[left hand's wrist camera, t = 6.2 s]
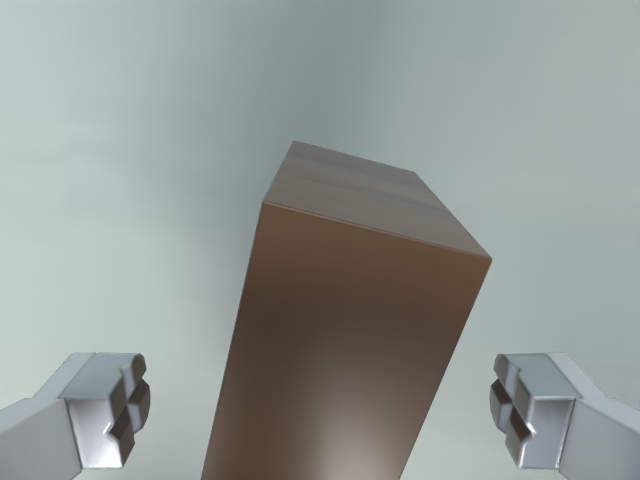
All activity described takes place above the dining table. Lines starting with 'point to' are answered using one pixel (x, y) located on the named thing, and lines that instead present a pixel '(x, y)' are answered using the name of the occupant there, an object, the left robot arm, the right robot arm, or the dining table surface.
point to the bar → (341, 323)
